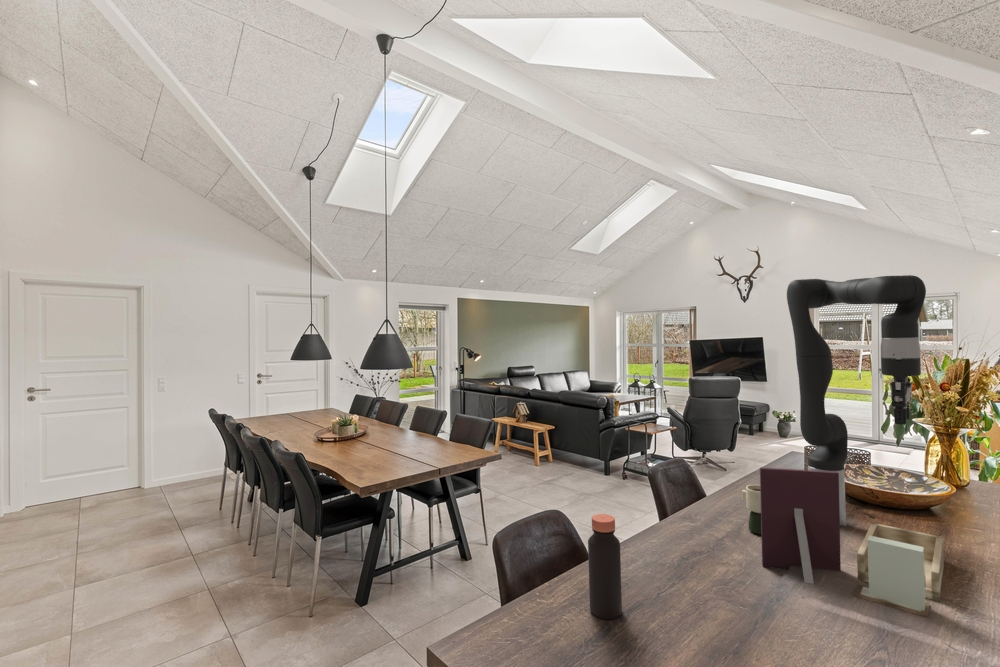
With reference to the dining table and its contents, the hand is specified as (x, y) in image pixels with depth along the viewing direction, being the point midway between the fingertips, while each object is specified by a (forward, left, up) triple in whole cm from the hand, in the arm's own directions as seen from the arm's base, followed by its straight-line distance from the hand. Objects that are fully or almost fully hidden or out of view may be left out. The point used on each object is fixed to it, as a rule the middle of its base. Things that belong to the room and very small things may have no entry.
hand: (902, 421), depth 118 cm
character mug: (-33, 0, -36) cm, 49 cm away
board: (-1, -23, -36) cm, 43 cm away
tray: (0, -5, -36) cm, 36 cm away
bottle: (-45, -65, -36) cm, 87 cm away
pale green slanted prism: (0, -23, -34) cm, 41 cm away
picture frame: (-17, -22, -36) cm, 46 cm away
